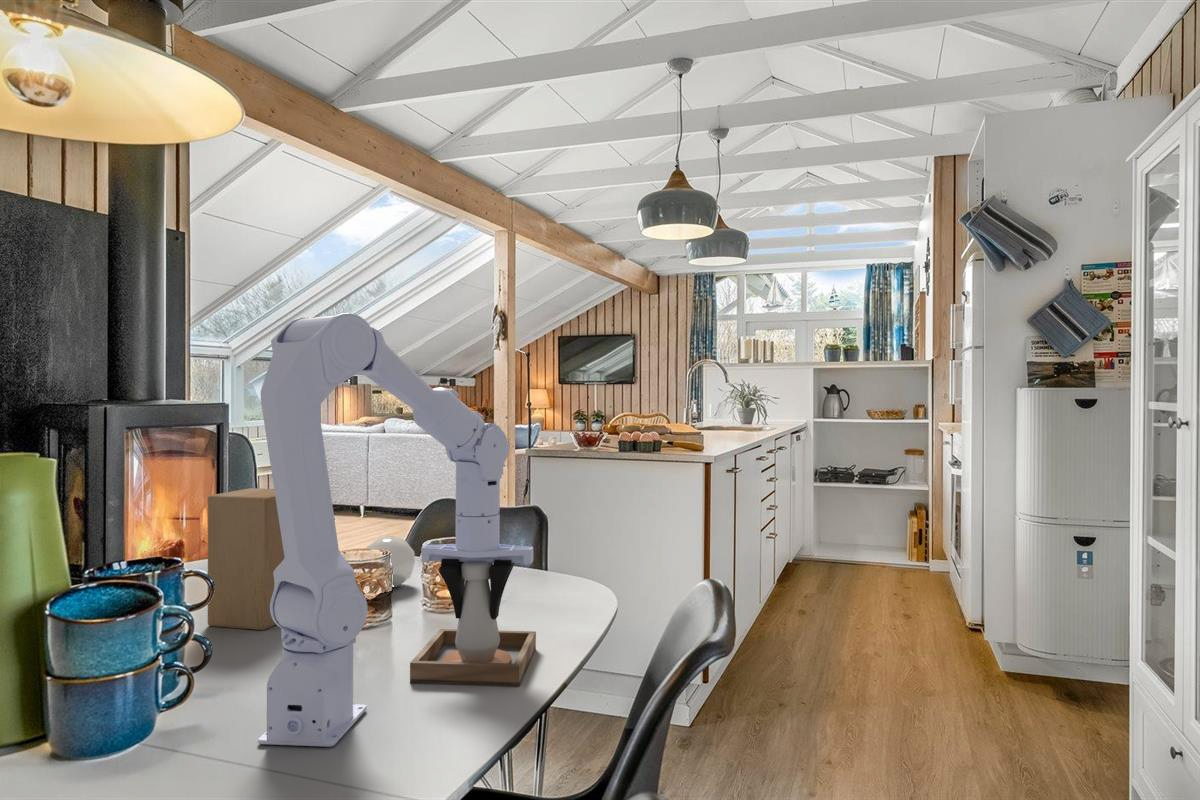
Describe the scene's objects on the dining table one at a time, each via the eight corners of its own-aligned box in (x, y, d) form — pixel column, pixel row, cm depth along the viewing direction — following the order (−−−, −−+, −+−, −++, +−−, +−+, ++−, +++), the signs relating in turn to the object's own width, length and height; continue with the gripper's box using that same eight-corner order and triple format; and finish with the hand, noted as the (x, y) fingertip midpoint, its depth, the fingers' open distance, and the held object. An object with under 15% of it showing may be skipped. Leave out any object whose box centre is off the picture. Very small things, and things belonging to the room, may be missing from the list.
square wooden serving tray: (519, 686, 93) (519, 666, 93) (409, 682, 94) (410, 662, 94) (535, 649, 107) (535, 631, 107) (440, 646, 108) (440, 628, 108)
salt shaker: (494, 667, 97) (494, 565, 97) (450, 666, 98) (449, 565, 98) (503, 651, 103) (503, 555, 103) (461, 651, 104) (461, 555, 103)
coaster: (504, 674, 96) (504, 672, 96) (433, 672, 96) (433, 670, 96) (516, 650, 105) (516, 648, 105) (451, 648, 105) (452, 646, 105)
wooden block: (303, 612, 124) (304, 489, 124) (264, 631, 114) (264, 497, 114) (249, 608, 126) (249, 487, 126) (206, 626, 116) (206, 495, 116)
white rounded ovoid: (404, 587, 146) (378, 619, 131) (362, 557, 146) (331, 586, 131) (431, 549, 145) (408, 577, 130) (389, 519, 144) (361, 544, 130)
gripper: (536, 509, 104) (536, 609, 104) (432, 508, 105) (431, 606, 105) (528, 518, 97) (528, 625, 97) (416, 516, 98) (416, 622, 98)
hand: (477, 616), depth 100 cm, fingers closed on salt shaker, 4 cm apart
